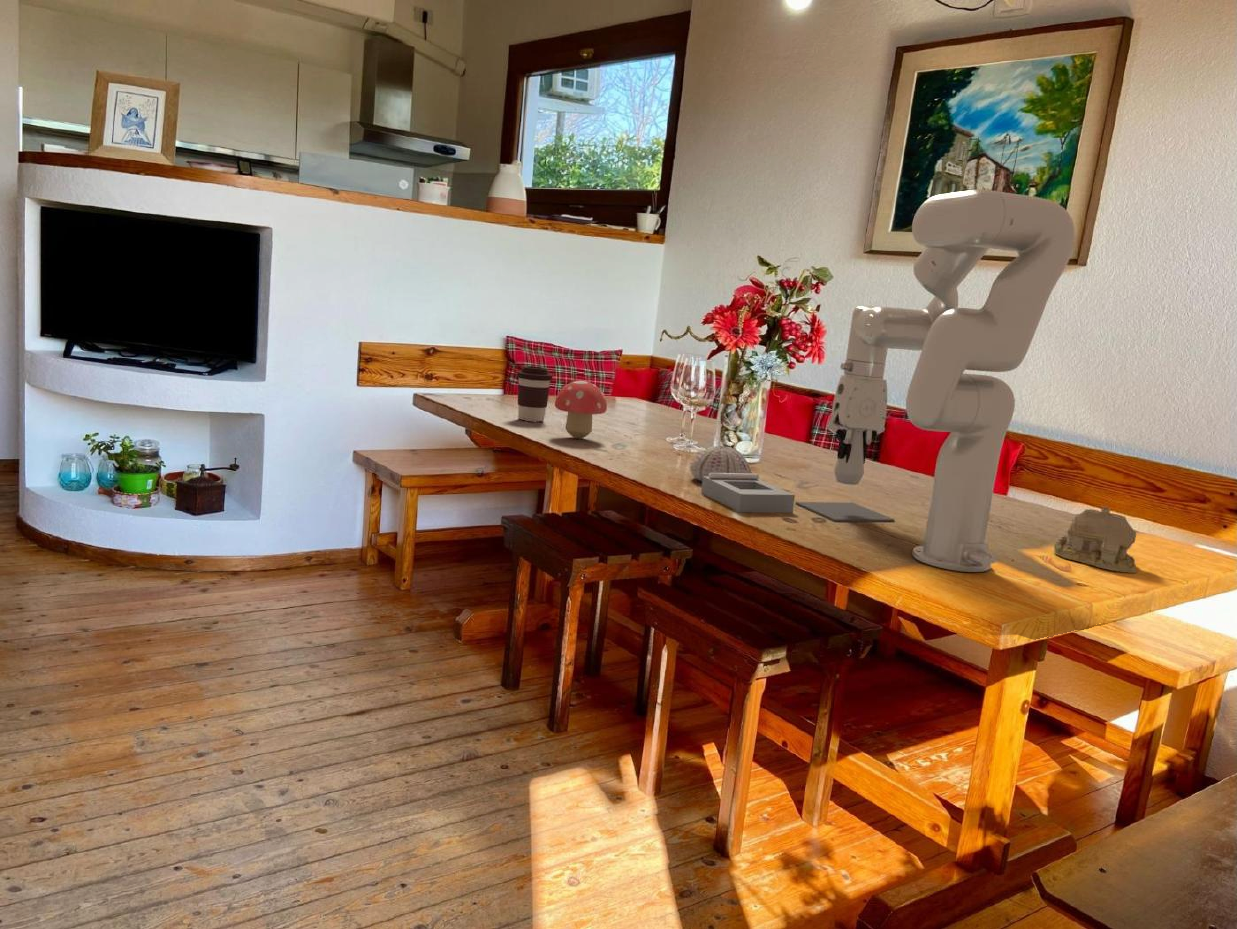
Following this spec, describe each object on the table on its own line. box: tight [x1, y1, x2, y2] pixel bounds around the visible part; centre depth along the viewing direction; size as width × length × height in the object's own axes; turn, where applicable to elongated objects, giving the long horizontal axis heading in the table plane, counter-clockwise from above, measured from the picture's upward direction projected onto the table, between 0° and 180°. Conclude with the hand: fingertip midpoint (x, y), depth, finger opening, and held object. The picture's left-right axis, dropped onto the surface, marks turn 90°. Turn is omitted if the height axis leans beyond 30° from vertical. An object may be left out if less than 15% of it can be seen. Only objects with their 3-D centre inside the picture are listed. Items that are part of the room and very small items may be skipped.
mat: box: [794, 501, 896, 522], centre depth 200 cm, size 14×14×1 cm
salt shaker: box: [833, 429, 866, 486], centre depth 198 cm, size 6×6×13 cm
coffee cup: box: [516, 365, 553, 422], centre depth 281 cm, size 10×10×15 cm
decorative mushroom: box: [554, 380, 608, 440], centre depth 258 cm, size 13×13×15 cm
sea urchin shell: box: [689, 445, 753, 482], centre depth 219 cm, size 13×14×8 cm
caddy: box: [700, 473, 796, 513], centre depth 200 cm, size 16×12×5 cm
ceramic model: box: [1053, 507, 1138, 574], centre depth 179 cm, size 14×11×10 cm
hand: (850, 461), depth 199 cm, fingers closed on salt shaker, 3 cm apart
